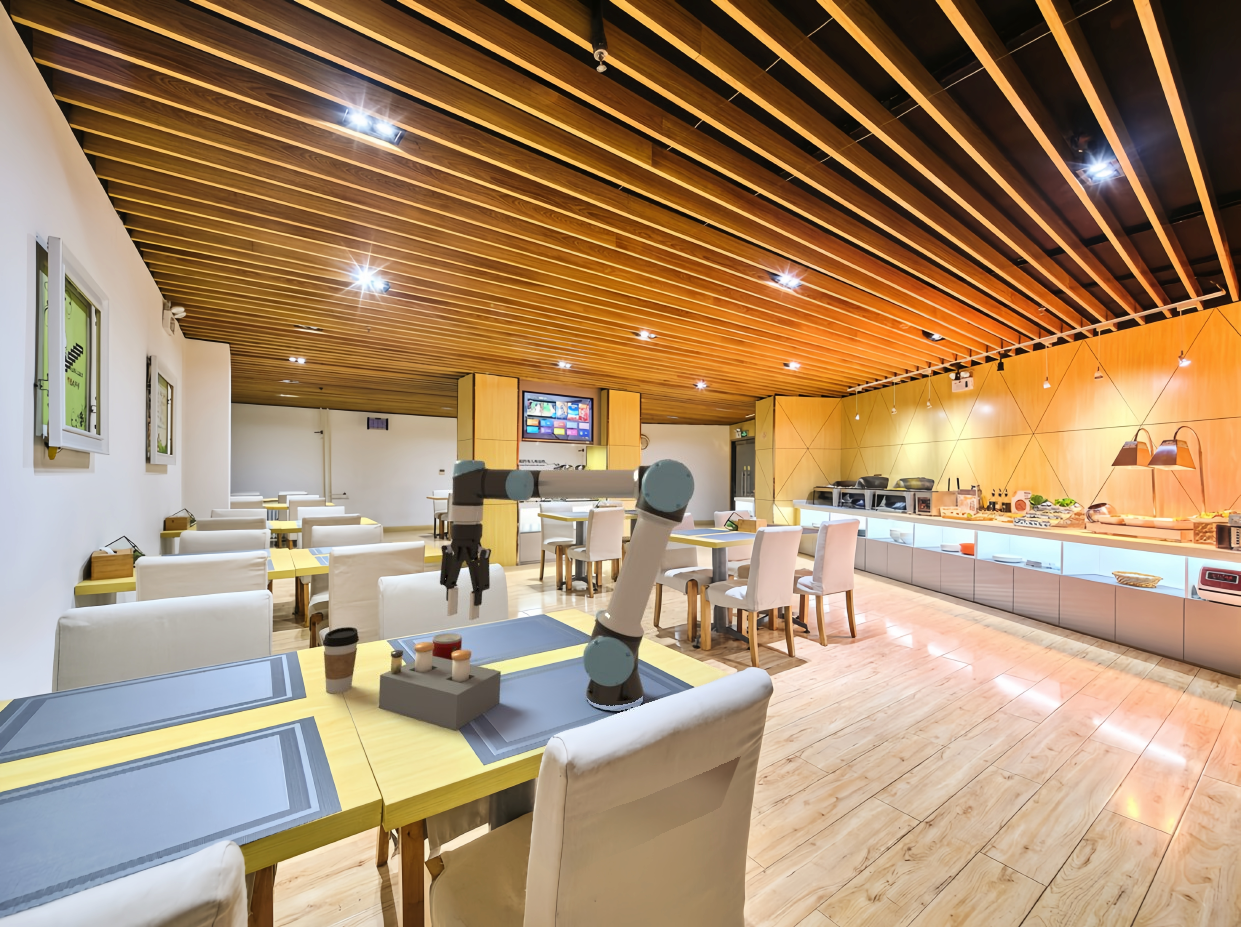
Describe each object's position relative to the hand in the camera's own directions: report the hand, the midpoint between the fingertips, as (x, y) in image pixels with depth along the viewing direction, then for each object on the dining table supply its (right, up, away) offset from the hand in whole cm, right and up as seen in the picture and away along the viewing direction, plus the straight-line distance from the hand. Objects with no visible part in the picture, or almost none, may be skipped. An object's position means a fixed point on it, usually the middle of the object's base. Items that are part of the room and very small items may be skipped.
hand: (463, 616), depth 126 cm
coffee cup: (-36, -22, +9) cm, 43 cm away
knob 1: (-12, -17, +4) cm, 21 cm away
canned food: (-11, -23, +20) cm, 33 cm away
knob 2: (-1, -17, 0) cm, 17 cm away
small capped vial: (-17, -14, +2) cm, 22 cm away
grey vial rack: (-6, -23, +2) cm, 24 cm away
